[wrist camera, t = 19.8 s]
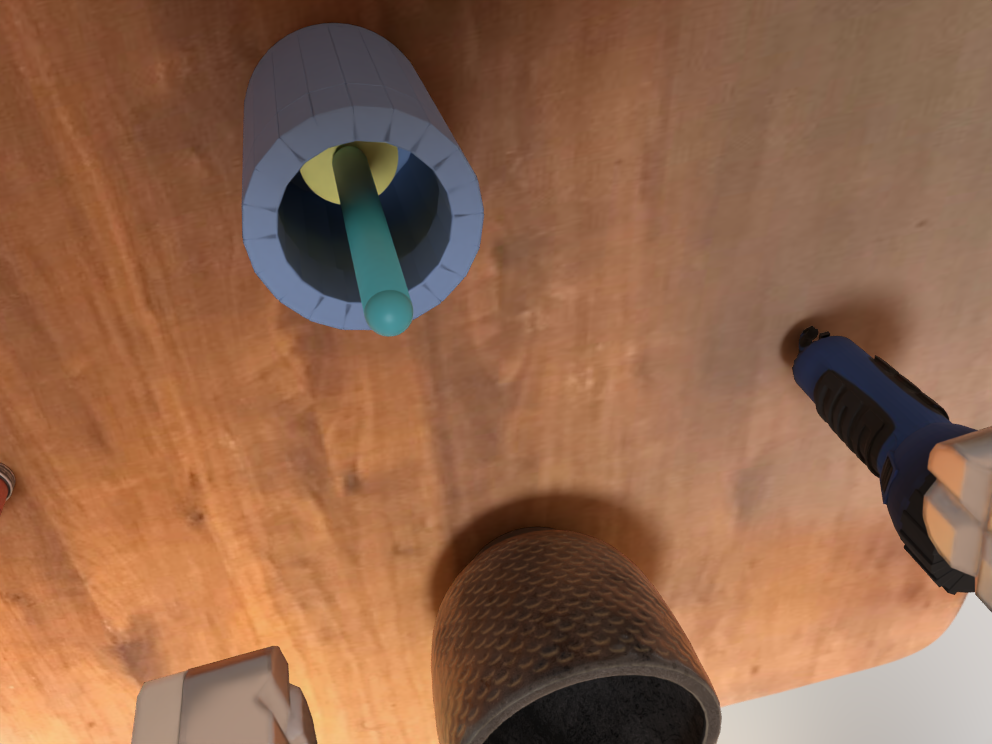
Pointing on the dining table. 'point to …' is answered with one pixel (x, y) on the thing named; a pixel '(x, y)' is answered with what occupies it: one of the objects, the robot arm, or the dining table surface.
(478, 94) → the dining table surface
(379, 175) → the brush
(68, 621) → the dining table surface
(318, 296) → the jar
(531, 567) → the planter
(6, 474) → the lighter
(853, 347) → the flashlight
